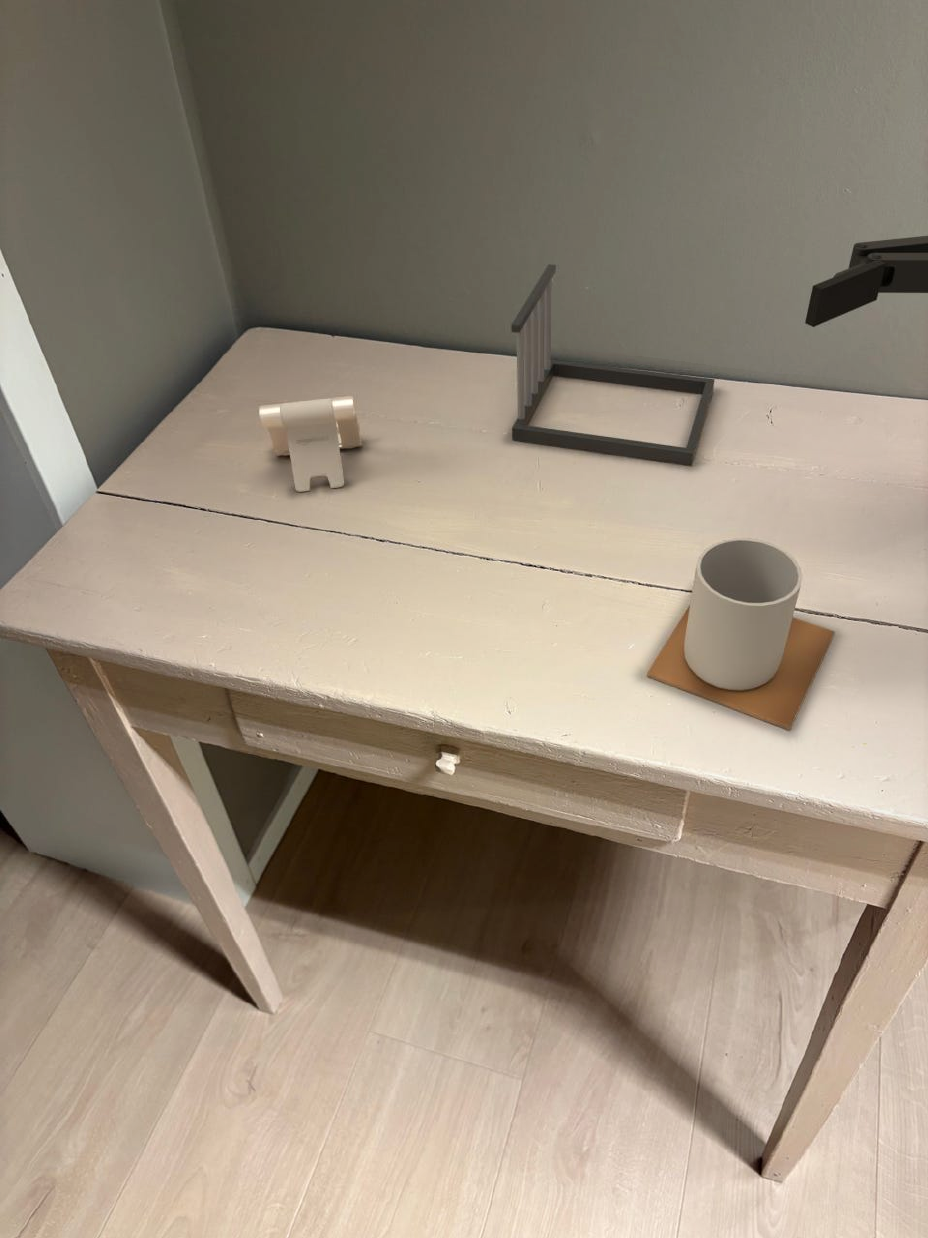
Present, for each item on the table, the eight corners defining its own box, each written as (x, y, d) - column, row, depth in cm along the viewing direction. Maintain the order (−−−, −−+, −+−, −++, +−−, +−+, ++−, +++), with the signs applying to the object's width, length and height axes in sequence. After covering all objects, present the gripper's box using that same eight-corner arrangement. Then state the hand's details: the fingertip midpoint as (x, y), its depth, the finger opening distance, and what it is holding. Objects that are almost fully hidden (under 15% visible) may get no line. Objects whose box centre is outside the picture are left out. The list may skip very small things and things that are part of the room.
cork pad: (833, 634, 75) (835, 631, 75) (789, 730, 69) (790, 727, 68) (700, 590, 80) (700, 586, 79) (646, 676, 73) (647, 672, 73)
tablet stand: (361, 439, 98) (350, 366, 92) (365, 484, 93) (353, 409, 87) (277, 449, 98) (261, 376, 92) (275, 495, 92) (258, 420, 86)
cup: (669, 674, 73) (682, 587, 66) (710, 593, 79) (725, 506, 72) (764, 706, 70) (787, 618, 64) (799, 619, 76) (823, 531, 70)
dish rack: (712, 391, 101) (729, 278, 93) (691, 466, 92) (707, 348, 83) (548, 371, 106) (549, 261, 98) (512, 440, 97) (509, 326, 88)
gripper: (1248, 369, 64) (1057, 483, 56) (928, 251, 79) (743, 327, 71) (1311, 258, 59) (1111, 367, 51) (956, 155, 74) (760, 226, 66)
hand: (895, 344), depth 61 cm, fingers open, 13 cm apart
